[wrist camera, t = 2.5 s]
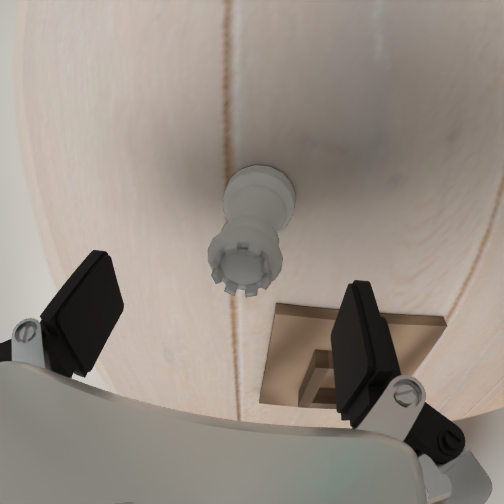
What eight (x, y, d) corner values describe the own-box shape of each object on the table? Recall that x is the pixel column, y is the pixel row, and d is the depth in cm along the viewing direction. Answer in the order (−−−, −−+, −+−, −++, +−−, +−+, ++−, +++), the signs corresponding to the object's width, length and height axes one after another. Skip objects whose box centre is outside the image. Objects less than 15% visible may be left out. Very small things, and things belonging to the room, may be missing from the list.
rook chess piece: (253, 148, 17) (226, 201, 10) (310, 192, 18) (320, 270, 11) (212, 200, 19) (170, 276, 12) (266, 238, 20) (252, 326, 13)
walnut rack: (443, 316, 22) (453, 342, 20) (381, 400, 31) (384, 421, 29) (276, 303, 23) (273, 333, 21) (260, 394, 32) (257, 417, 30)
